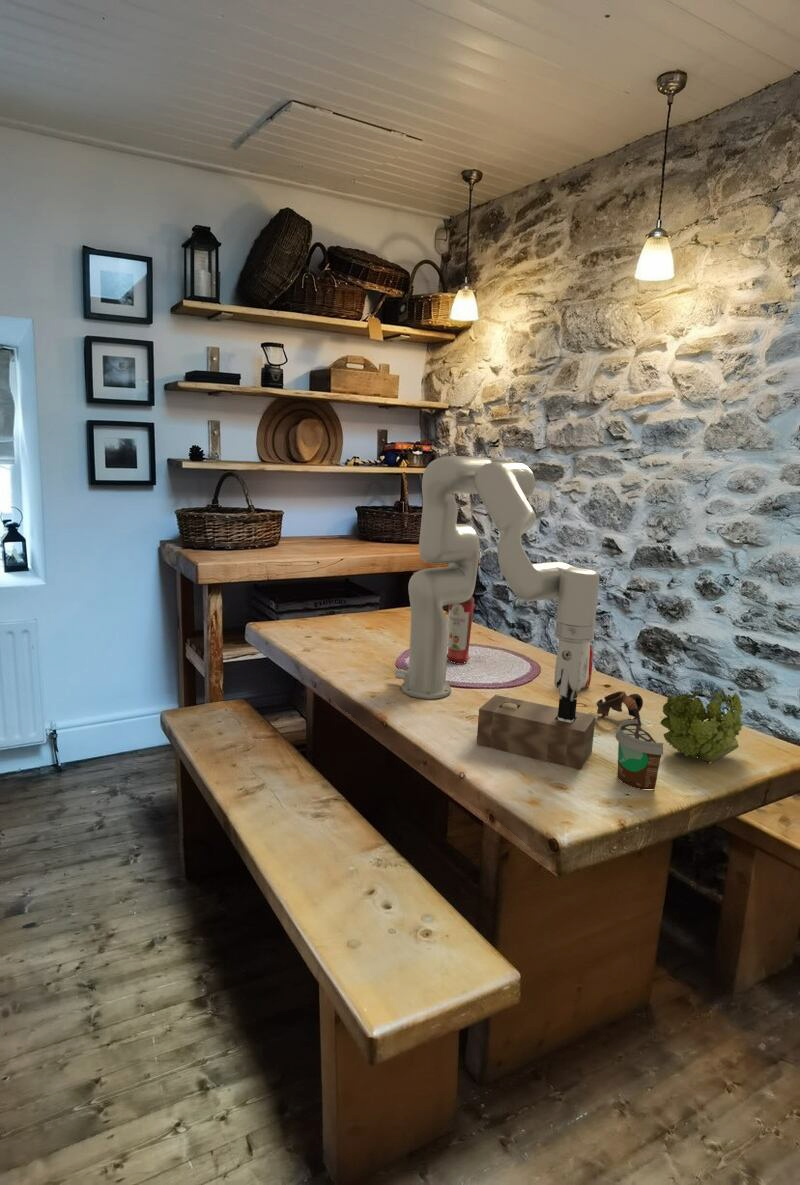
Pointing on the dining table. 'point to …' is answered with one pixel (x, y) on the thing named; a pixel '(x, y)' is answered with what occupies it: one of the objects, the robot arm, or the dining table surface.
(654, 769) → the food container
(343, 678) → the dining table surface
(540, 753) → the walnut block
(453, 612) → the liquor
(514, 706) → the beech peg
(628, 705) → the brown curved piece
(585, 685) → the soda can
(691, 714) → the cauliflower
